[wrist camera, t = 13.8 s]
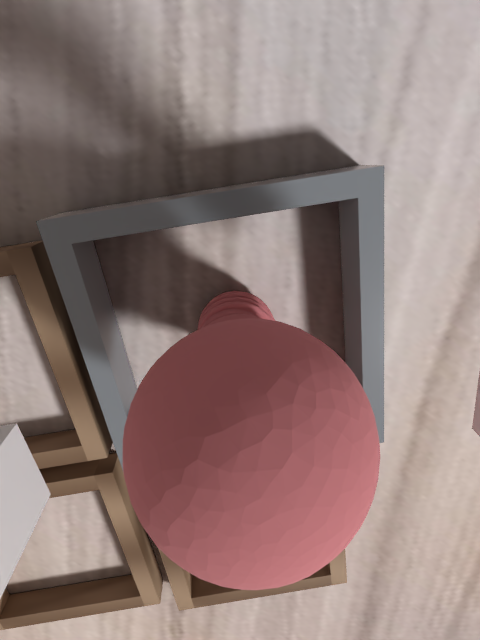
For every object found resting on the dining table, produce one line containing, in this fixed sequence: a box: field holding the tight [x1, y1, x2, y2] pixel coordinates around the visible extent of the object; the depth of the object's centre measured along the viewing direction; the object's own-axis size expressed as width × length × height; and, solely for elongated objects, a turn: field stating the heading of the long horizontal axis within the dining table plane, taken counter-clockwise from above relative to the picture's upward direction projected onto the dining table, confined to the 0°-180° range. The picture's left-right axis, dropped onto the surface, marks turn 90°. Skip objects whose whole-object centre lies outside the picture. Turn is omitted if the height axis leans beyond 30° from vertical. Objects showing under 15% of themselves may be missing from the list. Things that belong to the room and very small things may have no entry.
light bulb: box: [123, 291, 380, 590], centre depth 13 cm, size 7×7×12 cm
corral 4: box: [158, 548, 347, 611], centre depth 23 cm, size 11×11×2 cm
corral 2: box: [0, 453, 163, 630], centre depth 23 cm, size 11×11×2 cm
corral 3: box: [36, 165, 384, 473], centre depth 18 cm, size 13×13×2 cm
